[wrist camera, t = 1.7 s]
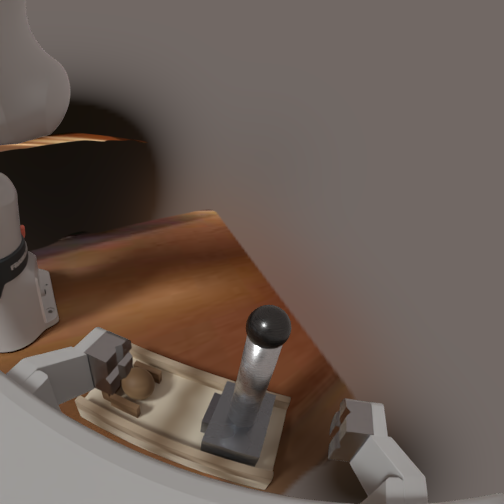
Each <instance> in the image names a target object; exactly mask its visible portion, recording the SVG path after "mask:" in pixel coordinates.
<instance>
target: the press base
mask: <svg viewBox="0 0 504 504" xmlns="http://www.w3.org/2000/svg"><path fill="white" fill-rule="evenodd" d="M131 345H132V348H131V350H130V351H129V352H130V353H131V355H132V356H133V364H132V368H134V367H140V368H143V369H145V370H147V371H148V372H149V373H150V374H151V375H152V377H153V379H154V382H155V388H154V391H153V393H152V395H151V396H150V397H148V398H147V399H144V400H135V399H132V398H130V397H129V396H127V395H126V394H125V392H124V390H123V388H122V384H121V381H122V379H121V380H120V386H119V388H118V389H117V390H116V391H115V393H114V394H113V395H110V394H107V393H105V392H103V391H101V390H98V389H96V388H94V389H93V390H91V391H90V392H89V394H88V395H87V396H86V398H84V397H82V396H80V395H79V396H78V397H77V398H76V400H75V403H76V405H77V408H78V410H79V413H80V415H81V417H83V418H85V419H86V420H88V421H90V422H92V423H93V424H95V425H97V426H99V427H101V428H103V429H104V430H106V431H108V432H110V433H112V434H114V435H116V436H118V437H120V438H122V439H124V440H126V441H128V442H130V443H132V444H134V445H137V446H139V447H141V448H143V449H145V450H148V451H150V452H152V453H155V454H157V455H159V456H162V457H164V458H167V459H169V460H171V461H174V462H177V463H179V464H182V465H184V466H187V467H190V468H193V469H195V470H198V471H201V472H204V473H207V474H210V475H213V476H216V477H220V478H223V479H226V480H229V481H233V482H236V483H240V484H244V485H247V486H251V487H255V488H259V489H263V490H265V489H266V488H267V486H268V485H269V483H270V482H271V481H272V478H273V474H274V472H272V470H273V466H274V462H275V458H276V454H277V450H278V446H279V441H280V437H281V433H282V429H283V424H284V420H285V415H286V411H287V408H288V406H289V404H290V400H291V397H288V396H284V395H280V394H276V393H273V392H269V391H266V392H267V393H270V394H274V395H276V398H275V402H274V406H273V410H272V413H271V417H270V421H269V425H268V428H267V432H266V436H265V440H264V443H263V447H262V450H261V454H260V457H259V460H258V462H257V463H256V465H255V467H252V466H249V465H245V464H242V463H238V462H235V461H231V460H228V459H225V458H222V457H218V456H215V455H212V454H209V453H206V452H203V451H200V449H201V442H202V439H203V436H204V434H205V433H203V432H200V431H201V423H202V420H203V417H204V415H205V413H206V411H207V408H208V406H209V404H210V402H211V400H212V397H213V395H214V393H218V394H222V392H223V390H224V387H225V385H226V382H227V381H230V382H233V383H236V382H235V381H232V380H229V379H225V378H222V377H219V376H216V375H213V374H210V373H207V372H204V371H202V370H199V369H196V368H193V367H190V366H187V365H185V364H182V363H179V362H177V361H174V360H171V359H169V358H166V357H163V356H161V355H158V354H156V353H153V352H151V351H148V350H146V349H144V348H141V347H139V346H136V345H134V344H132V343H131Z"/></svg>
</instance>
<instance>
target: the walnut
mask: <svg viewBox="0 0 504 504" xmlns="http://www.w3.org/2000/svg"><path fill="white" fill-rule="evenodd" d="M121 384H122V388H123V390H124V392H125V394H126V395H127V396H129V397H130V398H132V399H135V400H144V399H147V398H148V397H150V396H151V395H152V393H153V391H154V388H155V382H154V379H153V377H152V375H151V374H150V373H149V372H148V371H147V370H145V369H143V368H140V367H134V368H131V371H130V373H129V374H128V376H127V377H126V378H124V379H122V381H121Z"/></svg>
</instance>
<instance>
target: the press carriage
mask: <svg viewBox="0 0 504 504" xmlns="http://www.w3.org/2000/svg"><path fill="white" fill-rule="evenodd" d="M246 332H247V339H246V343H245V347H244V351H243V356H242V360H241V364H240V368H239V372H238V376H237V380H236V383H233V382H230V381H227V382H226V385H225V387H224V390H223V392H222V394H218V393H214V395H213V397H212V400H211V402H210V404H209V406H208V408H207V411H206V413H205V415H204V417H203V420H202V423H201V431H200V432H203V433H205V434H204V436H203V439H202V442H201V449H200V451H203V452H206V453H209V454H212V455H215V456H218V457H222V458H225V459H228V460H231V461H235V462H238V463H242V464H245V465H249V466H252V467H255V465H256V463H257V462H258V460H259V457H260V454H261V450H262V447H263V443H264V440H265V436H266V432H267V428H268V425H269V421H270V417H271V413H272V410H273V406H274V402H275V398H276V395H274V394H270V393H267V392H266V390H267V388H268V385H269V382H270V379H271V376H272V374H273V371H274V368H275V365H276V362H277V359H278V356H279V354H280V351H281V348H282V345H283V344H284V343H285V342H286V341H287V339H288V338H289V335H290V332H291V322H290V319H289V317H288V315H287V314H286V313H285V311H283V310H282V309H281V308H279V307H277V306H273V305H264V306H261V307H258V308H257V309H255V310H254V311H253V312H252V313H251V314H250V315H249V317H248V319H247V323H246Z"/></svg>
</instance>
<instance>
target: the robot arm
mask: <svg viewBox="0 0 504 504" xmlns="http://www.w3.org/2000/svg"><path fill="white" fill-rule="evenodd" d="M69 100H70V82H69V78H68V75H67V73H66V71H65V69H64V68H63V66H62V65H61V64H60V63H59V62H58V61H57V60H55V59H54V58H52V57H51V56H49V55H48V54H47V53H46V52H45V51H44V50H43V49H42V47H41V46H40V45H39V44H38V42H37V41H36V39H35V38H34V36H33V34H32V32H31V29H30V27H29V23H28V20H27V14H26V0H0V145H7V144H18V143H22V142H25V141H29V140H33V139H36V138H39V137H43V136H46V135H49V134H51V133H52V132H53V131H54V130H55V129H56V128H57V127H58V125H59V124H60V122H61V121H62V119H63V117H64V115H65V113H66V111H67V108H68V105H69ZM24 237H25V227H24V225H21V226H20V221H19V212H18V201H17V192H16V189H15V187H14V186H13V184H12V182H11V181H10V180H9V178H8V177H7V176H5V175H4V174H2V173H0V352H11V351H15V350H18V349H21V348H23V347H25V346H27V345H29V344H30V343H32V342H33V341H34V340H35V339H36V338H38V336H39V335H40V334H41V333H42V332H43V331H44V330H45V329H47V328H49V327H51V326H53V325H54V324H56V323H57V322H58V321H59V316H58V311H57V307H56V303H55V298H54V293H53V288H52V283H51V278H50V274H49V272H48V271H46V270H42V269H38V265H37V259H36V256H35V255H34V254H32V253H30V252H28V251H27V245H26V242H25V240H24ZM131 348H132V345H131V341H130V340H128V339H126V338H124V337H121V336H119V335H116V334H114V333H112V332H110V331H107V330H104V329H102V328H100V327H97V328H94V329H93V330H92V331H91V332H90V333H89V334H88V335H87V336H86V337H85V338H84V339H83V340H82V341H80V342H79V343H78V344H77V345H76V346H75V347H74V348H73V347H68V348H64V349H60V350H56V351H52V352H48V353H44V354H40V355H36V356H32V357H28V358H24V359H22V360H21V361H20V362H19V363H18V364H17V365H16V366H14V367H13V368H12V369H11V370H10V371H9V372H8V373H7V374H6V375H5V374H4V373H3V372H1V371H0V504H352V503H338V502H328V501H317V500H310V499H303V498H297V497H290V496H284V495H279V494H273V493H268V492H263V491H259V490H254V489H250V488H245V487H241V486H237V485H233V484H230V483H226V482H222V481H219V480H215V479H212V478H208V477H205V476H202V475H199V474H196V473H193V472H190V471H187V470H184V469H181V468H178V467H175V466H172V465H170V464H167V463H164V462H162V461H159V460H157V459H154V458H152V457H149V456H147V455H144V454H142V453H140V452H137V451H135V450H133V449H130V448H128V447H126V446H124V445H122V444H119V443H117V442H115V441H113V440H111V439H109V438H107V437H105V436H103V435H101V434H99V433H97V432H95V431H93V430H91V429H90V428H88V427H86V426H84V425H82V424H80V423H79V422H77V421H75V420H73V419H71V418H70V417H68V416H66V415H65V414H63V413H61V410H60V408H59V404H61V403H64V402H66V401H68V400H70V399H73V398H75V397H77V396H79V395H82V394H84V393H86V392H88V391H91V390H93V389H94V388H96V389H98V390H101V391H103V392H105V393H107V394H110V395H113V394H114V393H115V391H116V390H117V389H118V388H119V386H120V380H121V379H124V378H126V377H127V376H128V374H129V373H130V371H131V368H132V364H133V356H132V355H131V353H130V352H129V351H130V350H131ZM330 437H331V438H332V441H331V443H330V444H329V454H328V459H332V460H338V461H345V462H350V465H351V467H352V469H353V470H354V472H355V474H356V475H357V478H358V479H359V481H360V483H361V485H362V486H363V488H364V490H365V492H366V493H367V495H368V497H367V498H366V499H365V500H364V501H363V502H362V503H360V504H504V493H498V494H493V495H487V496H482V497H476V498H470V499H463V500H457V501H456V500H455V501H448V502H438V503H428V495H427V487H426V479H425V476H424V475H423V474H422V473H421V472H420V470H419V469H418V468H417V467H416V466H415V464H414V463H413V462H412V461H411V460H410V459H409V457H408V456H407V455H406V454H405V453H404V452H403V450H402V449H401V448H400V447H399V446H398V444H397V443H396V442H395V441H394V440H393V439H392V437H388V434H387V426H386V418H385V410H384V405H383V404H381V403H373V402H365V401H358V400H352V399H345V398H344V399H343V400H342V402H341V404H340V411H338V412H336V413H335V415H334V417H333V420H332V423H331V427H330Z"/></svg>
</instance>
